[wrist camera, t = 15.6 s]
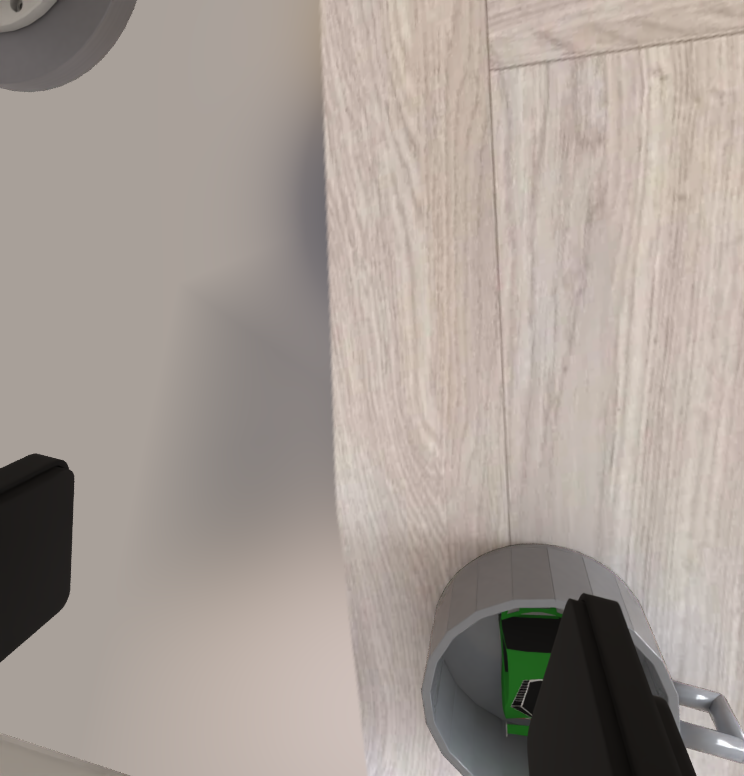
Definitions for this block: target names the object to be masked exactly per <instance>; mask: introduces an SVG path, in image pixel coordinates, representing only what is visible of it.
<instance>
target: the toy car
mask: <svg viewBox="0 0 744 776" xmlns="http://www.w3.org/2000/svg"><path fill="white" fill-rule="evenodd" d="M515 611H517V612H515ZM557 612H558V613H557ZM563 612H564V610H563V609H559V608H555V607H549V608H514V609H511V610H507V611H504V612H501V614H498V622H499V639H500V635H501V648H502V654H501V666H500V676H501V687H502V706H503V711H504V715H505V718H506V719H510V718H522V719H531V717H532V714H533V711H534V708H535V704H536V701H537V698H538V694H539V691H540V688H541V684H542V681H543V678H544V674H545V671H546V668H547V665H548V661H549V658H550V655H551V651H552V648H553V645H554V641H555V638H556V635H557V631H558V628H559V625H560V621H561V618H562V615H563ZM560 613H561V614H560ZM528 729H529V726H525V725H513V724H507V721H506V737H508V734H516V735H523V736H528ZM507 733H508V734H507Z"/></svg>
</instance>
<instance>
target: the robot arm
mask: <svg viewBox="0 0 744 776" xmlns="http://www.w3.org/2000/svg"><path fill="white" fill-rule="evenodd" d="M56 1H57V0H0V33H1V32H9V31H15V30H17V29H20V28H23V27H25V26H28V25H30V24H31V23H33V22H34V21H36V20H37V19H39V18H40V17H41V16H43V15H44V14H45V13H46V12H47V11H48V10H49V9H50V8H51V7H52V6H53V5H54V3H55V2H56ZM73 499H74V474H73V472H72V471H71V470H69V467H68V465H67V463H66V462H65V461H64V460H60V459H56V458H52V457H48V456H44V455H40V454H31V455H28V456H26V457H24V458H22V459H20V460H17V461H15V462H13V463H11V464H9V465H7V466H5V467H3V468H0V662H1V661H2V660H4V659H5V658H6V657H7V656H8V655H9V654H11V653H12V652H13V651H14V650H15V649H16V648H17V647H18V646H20V645H21V644H22V643H23V642H24V641H26V640H27V639H28V638H29V637H30V636H31V635H32V634H34V633H35V632H36V631H37V630H38V629H40V628H41V627H42V626H43V625H44V624H45V623H46V622H48V621H49V620H50V619H51V618H52V617H53V616H54V615H56V614H57V613H58V612H59V611H60V610H61V609H62V608H63V607H64V605H65V603H66V602H67V599H68V597H69V593H70V580H71V579H70V578H71V554H72V552H71V551H72V525H73ZM527 753H528V766H529V776H696V773H695V771H694V768H693V765H692V763H691V760H690V758H689V755H688V753H687V750H686V748H685V745H684V743H683V740H682V737H681V735H680V732H679V730H678V727H677V725H676V722H675V720H674V717H673V714H672V712H671V709H670V707H669V706H668V704H667V702H666V700H664V699H663V698H662V697H659V696H656V695H652V692H651V689H650V686H649V684H648V681H647V678H646V675H645V673H644V670H643V667H642V664H641V662H640V659H639V656H638V653H637V651H636V648H635V645H634V643H633V640H632V637H631V634H630V632H629V629H628V626H627V623H626V621H625V618H624V615H623V612H622V610H621V607H620V605H619V603H618V602H617V601H614V600H610V599H606V598H602V597H598V596H594V595H590V594H586V593H583V594H581V596H580V597H579V599H578V600H575V599H571V598H570V599H568V601H567V602H566V605H565V608H564V612H563V615H562V618H561V621H560V625H559V628H558V631H557V635H556V638H555V641H554V645H553V648H552V651H551V655H550V658H549V661H548V665H547V668H546V671H545V674H544V678H543V681H542V684H541V688H540V691H539V694H538V698H537V701H536V704H535V708H534V711H533V714H532V717H531V721H530V725H529V729H528V737H527ZM0 776H129V775H127V774H124V773H121V772H117V771H115V770H112V769H108V768H105V767H103V766H100V765H97V764H93V763H90V762H87V761H84V760H81V759H78V758H75V757H72V756H69V755H66V754H63V753H60V752H57V751H54V750H51V749H48V748H45V747H42V746H39V745H36V744H33V743H30V742H27V741H24V740H20V739H18V738H15V737H12V736H8V735H5V734H2V733H0Z"/></svg>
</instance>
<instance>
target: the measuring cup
mask: <svg viewBox="0 0 744 776" xmlns="http://www.w3.org/2000/svg"><path fill="white" fill-rule="evenodd" d="M583 593H586V594H590V595H594V596H598V597H602V598H606V599H610V600H614V601H617V602H618V603H619V605H620V607H621V610H622V612H623V615H624V618H625V621H626V623H627V626H628V629H629V632H630V634H631V637H632V640H633V643H634V645H635V648H636V651H637V653H638V656H639V659H640V662H641V664H642V667H643V670H644V673H645V675H646V678H647V681H648V684H649V686H650V689H651V692H652V695H656V696H659V697H662V698H663V699H664V700H666V702H667V704H668V706H669V707H670V709H671V712H672V714H673V717H674V720H675V722H676V725H677V727H678V730H679V732H680V735H681V737H682V740H683V743H684V745H685V748H689V749H692V750H696V751H699V752H703V753H706V754H710V755H713V756H717V757H720V758H723V759H727V760H730V761H734V762H737V763H744V732H743V730H742V728H741V726H740V724H739V722H738V720H737V718H736V717H735V715H734V713H733V711H732V709H731V707H730V705H729V703H728V701H727V699H726V698H725V697H724V696H723V695H722V694H720V693H718V692H715V691H711V690H707V689H704V688H700V687H696V686H692V685H689V684H685V683H681V682H678V681H674V680H672V678H671V676H670V673H669V671H668V668H667V666H666V663H665V661H664V659H663V656H662V654H661V651H660V649H659V646H658V644H657V641H656V639H655V636H654V634H653V632H652V629H651V627H650V625H649V622H648V620H647V618H646V616H645V614H644V611H643V609H642V607H641V605H640V603H639V601H638V599H637V598H636V596H635V595H634V594H633V592H632V591H631V590H630V589H629V587H628V586H627V585H626V584H625V583H624V582H623V581H622V580H621V579H620V578H619V577H618V576H617V575H616V574H615V573H614V572H612V571H611V570H610V569H608V568H607V567H606V566H604V565H603V564H601V563H599V562H598V561H596V560H594V559H592V558H591V557H588V556H586V555H584V554H581V553H579V552H576V551H573V550H570V549H567V548H563V547H558V546H552V545H544V544H521V545H514V546H508V547H504V548H500V549H497V550H494V551H491V552H489V553H487V554H484V555H482V556H480V557H478V558H477V559H475V560H473V561H472V562H470V563H469V564H467V565H466V566H465V567H464V568H463V569H461V570H460V571H459V572H458V573H457V574H456V575H455V576H454V577H453V579H452V580H451V581H450V582H449V584H448V585H447V587H446V588H445V590H444V591H443V594H442V596H441V598H440V600H439V602H438V604H437V609H436V613H435V618H434V623H433V627H432V632H431V638H430V644H429V649H428V655H427V661H426V666H425V672H424V678H423V683H422V689H421V693H422V700H423V706H424V713H425V720H426V724H427V726H428V728H429V730H430V732H431V734H432V736H433V738H434V740H435V742H436V743H437V745H438V747H439V749H440V751H441V753H442V754H443V756H444V757H445V758H446V759H447V760H448V761H449V762H450V763H451V764H452V765H453V766H454V767H455V768H456V769H457V770H458V771H459V772H460V773H461V774H462V775H463V776H529V766H528V753H527V737H528V736H523V735H516V734H508V733H507V734H508V737H506V721H507V724H513V725H525V726H529V725H530V721H531V719H522V718H510V719H506V718H505V715H504V711H503V706H502V687H501V676H500V666H501V654H502V648H501V635H500V639H499V622H498V614H501V612H504V611H507V610H511V609H514V608H549V607H555V608H559V609H563V610H564V608H565V605H566V602H567V601H568V599H570V598H571V599H575V600H578V599H579V597H580V596H581V594H583ZM515 612H517V611H515ZM557 613H558V612H557ZM560 614H561V613H560ZM679 705H682V706H685V707H689V708H693V709H696V710H700V711H703V712H707V713H709V714H710V717H711V719H712V721H713V723H714V725H715V727H716V730H717V731H716V730H713V729H709V728H706V727H702V726H698V725H695V724H691V723H688V722H684V721H681V720H680V715H679Z"/></svg>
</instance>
